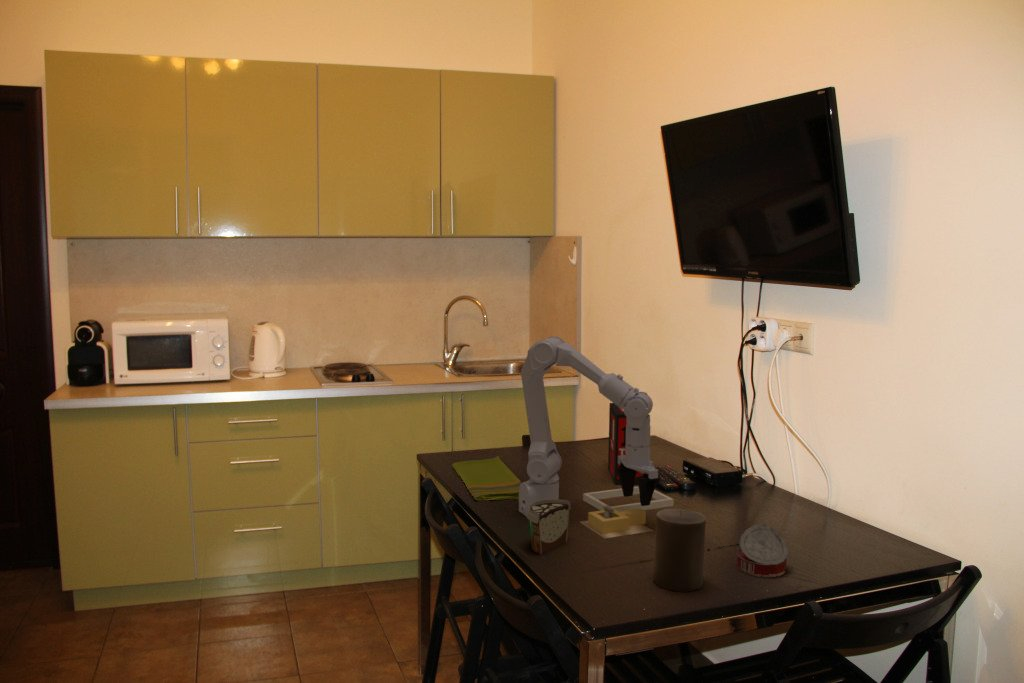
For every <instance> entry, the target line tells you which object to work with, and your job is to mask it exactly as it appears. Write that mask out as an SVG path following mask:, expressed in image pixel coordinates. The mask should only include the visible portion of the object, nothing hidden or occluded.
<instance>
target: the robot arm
mask: <svg viewBox="0 0 1024 683" xmlns="http://www.w3.org/2000/svg"><path fill="white" fill-rule="evenodd" d="M553 365H555V366H556V367H571V368H572V369H574V370H575V371H576V372H578V373H579V374H581V375H583V376H584V377H585V378H587V379H588V380H590V381H591V382H593V383H594V384H596V385H597V387H598V391H599V393H600V394H601V395H603V396H604V398H606V399H607V400H609V401H610V402H611V403H614V404H616V405H617V406H618V407H620V408H622V409H623V410H624V414H625V415H626V417H627V425H626V448H625V455H622V456H618V464H620V466H619V467H615V471H616V472H617V474H618V477H619V479H620V482H621V485H620V486H621V489H622V491H623V495H624V496H623V497H633V490H634V487H635V485H634V481H635V478H636V481H637V483H638V485H637V486H638V487H639V492H640V494H639V503H641V506H647V505H650V502H651V501H652V499H653V497H652V495H653V492H654V490H656V487H657V486H658V484H659V482H660V481H661V477H660V476H659V469H656V467H655V466H654V461H652V460H651V454H650V453H651V415H650V413H651V412H652V410H653V407H654V404H653V403H654V402H653V398H651V396H649V395H648V393H647V392H645V391H640V389H639V388H637V387H633V386H632V385H631V384H630V383H628V382H626V381H625V380H624V379H623V378H624V376H623V375H621V374H620V373H618V374H615V373H614V372H613V373H606V372H605V371H603V370H602V369H601V368H599V367H598V366H597V365H596V364H594V363H593V361H591V360H590V359H589V358H587V357H586V356H585V355H584V354H582V353H581V352H580V351H578V350H577V349H576V348H575V347H574V346H573V345H572V344H571V343H569V342H567V341H564V340H563V339H562V338H561V337H559V336H554V335H552V336H549V337H547V338H544V339H540V340H538V341H535V343H533V345H531V347H530V348H528V350H527V356H526V358H525V361H524V363H523V365H522V368H521V370H520V377H521V384H522V390H523V398H524V404H525V411H526V417H527V425H528V433H529V438H530V439H529V440H530V445H529V450H528V462H527V466H526V472H527V475H528V477H529V479H528V480H526V481H524V482H522V483H521V484H520V487H519V499H518V512H519V513H521V514H522V515H524V516H525V517H526V518H527V516H526V515H527V511H528V508H529V506H530V504H532V503H534V502H536V501H540V500H547V499H559V498H560V496H559V490H560V489H559V488H560V477H559V474H558V472H559V471H560V469H561V467H562V466H563V465H562V464H563V461H562V457H561V455H560V453H559V452H558V450H557V445H556V442H555V441H554V440H553V438H552V431H551V425H550V417H549V411H548V403H547V396H546V389H545V382H544V375H546V374H547V372H548V371H549V370H550V369H551V367H552V366H553ZM603 396H602V397H603ZM648 414H649V415H648ZM637 471H638V472H640V473H642V474H643V476H637V477H636V473H637ZM559 500H560V499H559Z"/></svg>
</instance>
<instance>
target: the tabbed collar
mask: <svg viewBox="0 0 1024 683" xmlns="http://www.w3.org/2000/svg"><path fill="white" fill-rule="evenodd" d="M646 518H647V510H642V509H633V510H626V511H617V510H615V509H614V513H613V518H607V519H605V518H604V510H601V511H600V510H595V511H588V513H587V521H588V525H589V526H591V527H592V528H594V529H596V530H597V531H599V532H600V533H602V534H608V533H614V532H620V531H627V530H629V526H634V525H640V524H642V525H645V524H646V522H647V520H646Z"/></svg>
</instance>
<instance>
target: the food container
mask: <svg viewBox="0 0 1024 683" xmlns="http://www.w3.org/2000/svg"><path fill="white" fill-rule="evenodd" d="M571 505H572V504H571V501H569V500H567V499H566V500H565V499H547V500H540V501H536V502H534V503H532V504H530V506H529V508H528V511H527V515H526V516H527V517H526V516H525V517H526V518H527V519H528V521H529V526H530V527H529V528H530V543H531V549H532V550H533V552H534V553H537V554H539V555H542V554H545V553H546V552H548V551H550V550H552V549H556V547H560V546H561V545H564V544H565V543H567V542H568V534H569V532H568V530H569V520H570V510H572V506H571Z"/></svg>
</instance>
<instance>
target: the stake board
mask: <svg viewBox="0 0 1024 683" xmlns="http://www.w3.org/2000/svg"><path fill="white" fill-rule="evenodd" d="M609 506H610V505H608V506H604V518H605V519H607V518H613V513H614V509H612V508H610V507H611V506H610V507H609ZM579 523H580V524H581V525H583V526H585V527H586V528H587V529H589V530H591V531H592V532H593V533H595V534H596V535H599V536H600V537H601V538H603V539H605V540H606V539H611V538H617V537H623V536H630V535H636V534H642V533H649V532H654V530H652V529H651V528H649V527H647V526H646V525H645V524H640V525H634V526H629V530H627V531H620V532H614V533H608V534H602V533H600V532H599V531H597V530H596V529H594V528H592V527H591V526H589V525H588V520H582V521H579Z"/></svg>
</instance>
